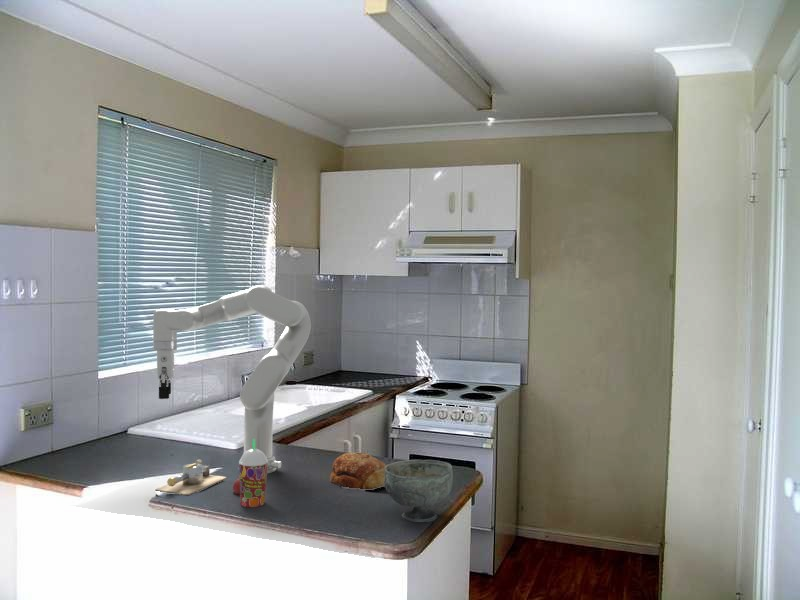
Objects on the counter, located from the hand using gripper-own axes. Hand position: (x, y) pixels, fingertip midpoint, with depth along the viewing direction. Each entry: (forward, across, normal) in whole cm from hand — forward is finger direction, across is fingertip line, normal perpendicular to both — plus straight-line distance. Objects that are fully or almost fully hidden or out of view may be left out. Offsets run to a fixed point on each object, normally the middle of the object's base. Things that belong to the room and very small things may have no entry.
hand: (164, 396), depth 230 cm
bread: (+28, -25, -64) cm, 74 cm away
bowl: (+28, -60, -71) cm, 97 cm away
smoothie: (+27, -41, -27) cm, 56 cm away
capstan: (+25, -19, -10) cm, 33 cm away
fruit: (+27, -31, -25) cm, 48 cm away
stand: (+27, -19, -10) cm, 34 cm away
